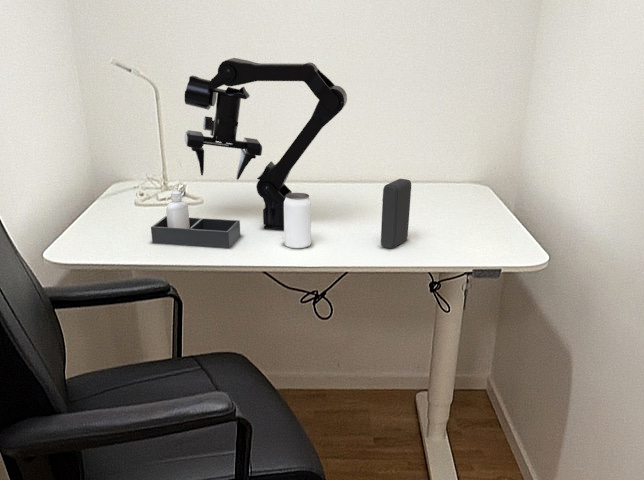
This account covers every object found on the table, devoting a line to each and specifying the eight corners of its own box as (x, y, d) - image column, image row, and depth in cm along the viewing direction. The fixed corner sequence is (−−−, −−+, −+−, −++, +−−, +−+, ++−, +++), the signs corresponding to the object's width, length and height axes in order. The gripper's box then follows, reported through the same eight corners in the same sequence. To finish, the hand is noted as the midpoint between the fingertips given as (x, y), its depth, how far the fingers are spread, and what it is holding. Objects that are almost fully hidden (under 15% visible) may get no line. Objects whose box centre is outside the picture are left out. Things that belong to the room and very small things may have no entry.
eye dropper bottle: (192, 236, 183) (188, 187, 177) (169, 239, 181) (165, 189, 175) (188, 231, 186) (185, 183, 180) (166, 234, 184) (162, 185, 179)
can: (301, 250, 177) (301, 200, 171) (279, 246, 180) (278, 196, 174) (315, 243, 181) (316, 194, 176) (294, 239, 184) (293, 190, 178)
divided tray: (166, 231, 189) (165, 215, 187) (240, 236, 186) (239, 220, 184) (152, 243, 180) (150, 227, 178) (229, 248, 178) (228, 232, 176)
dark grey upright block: (394, 237, 187) (398, 177, 179) (409, 240, 185) (413, 179, 178) (378, 247, 180) (381, 184, 172) (393, 250, 178) (396, 186, 171)
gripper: (257, 111, 191) (249, 171, 199) (184, 101, 185) (179, 163, 193) (266, 122, 182) (257, 184, 190) (190, 111, 176) (184, 176, 184)
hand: (219, 177), depth 190 cm, fingers open, 9 cm apart
